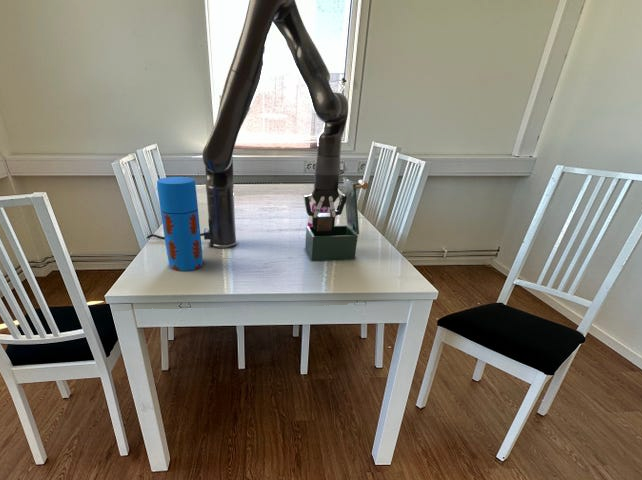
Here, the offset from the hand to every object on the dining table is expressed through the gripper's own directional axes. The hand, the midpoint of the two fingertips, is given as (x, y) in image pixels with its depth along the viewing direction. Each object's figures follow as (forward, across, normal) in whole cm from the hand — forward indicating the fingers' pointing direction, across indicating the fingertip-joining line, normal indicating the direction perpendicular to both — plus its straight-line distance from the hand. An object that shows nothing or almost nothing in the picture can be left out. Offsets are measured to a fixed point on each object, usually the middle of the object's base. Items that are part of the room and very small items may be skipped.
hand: (322, 228), depth 130 cm
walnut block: (0, 0, 0) cm, 0 cm away
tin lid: (-7, -8, 0) cm, 11 cm away
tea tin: (+9, -3, 0) cm, 9 cm away
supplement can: (+9, -3, -19) cm, 22 cm away
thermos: (+9, +45, +6) cm, 46 cm away
